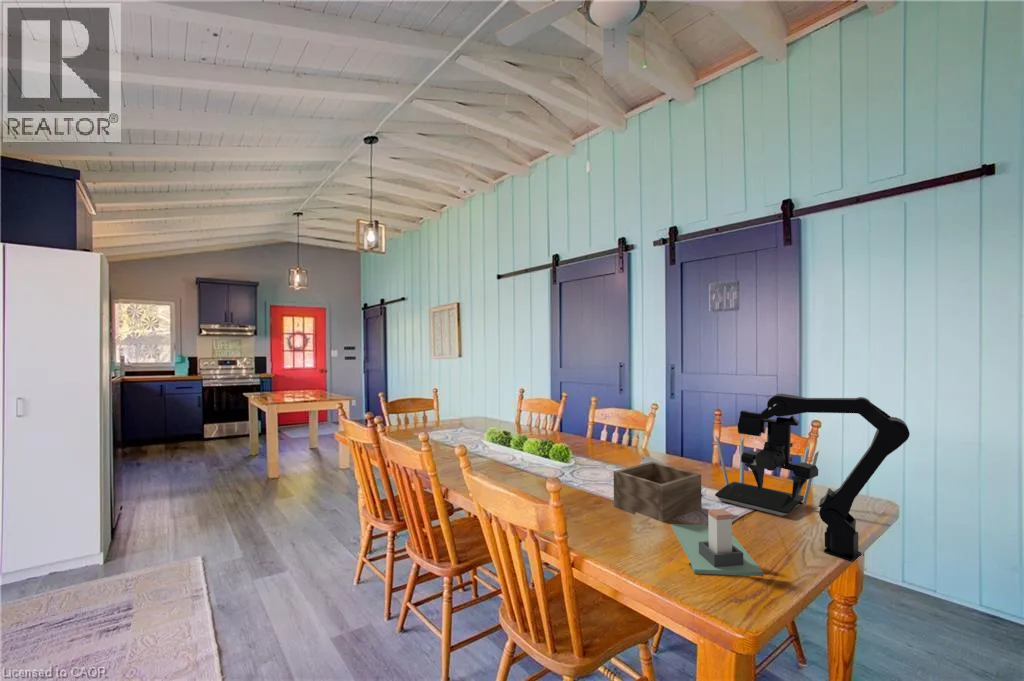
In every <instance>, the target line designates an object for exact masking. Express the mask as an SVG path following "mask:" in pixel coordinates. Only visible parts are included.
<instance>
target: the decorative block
mask: <svg viewBox="0 0 1024 681" xmlns="http://www.w3.org/2000/svg"><path fill="white" fill-rule="evenodd" d="M649 462H655V463H659V464H663V465H667V466H670V465H669V464H667V463H664V462H662V461H660V460H658V459H656V458H653V457H650V456H648V455H647V454H643V456H642V460H641V461H640V463H639V465H641V464H645V463H649Z"/></svg>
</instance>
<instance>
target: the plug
mask: <svg viewBox="0 0 1024 681" xmlns="http://www.w3.org/2000/svg"><path fill="white" fill-rule="evenodd" d="M707 511H708V512H707V513H708V514H707V516H708V523H707V525H708V528H709V548H710V549H711V550H712V551H713V552H715V553H727V552H732V534H733V523H732V522H733V516H732V513H730V512H729V511H727V510H725V509H724V508H715V509H711V508H710V509H707Z"/></svg>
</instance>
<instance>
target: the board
mask: <svg viewBox="0 0 1024 681" xmlns="http://www.w3.org/2000/svg"><path fill="white" fill-rule="evenodd" d="M669 525H670V527H671V529H672V531H673V532H674V534H675V537H676V538H677V540H678V542H679V544H680V546H681V548H682V549H683V551H684V553H685V555H686V557H687V558H688V560H689V562H688V564H689V566H690V568H691V570H692V572H693V573H694V574H697V575H698V574H700V575H727V576H730V575H731V576H750V577H764V571H763V569H762V568H761V567H760V566H759V565H758V564H757V562H756V561H755V560H754V559H753V557H752V556H751V555H750V554H749V552H748V551H747V550H746V549H745V548H744V547H743V545H742V544H741V543H740V542H739V541H738V540H737V537H736V536H734V534H733V533H732V545H733V546H735V547H736V548H737V549H739V550H740V551H741V552H743V565H736V566H724V567H714V566H713V565H711V564H710V563H709V562H708V561H707V560H706V559H705V558H704V557H703V556H701V555H700V554H699V542H703V541H709V528H708V524H689V523H688V524H687V523H686V524H679V523H678V524H677V523H670V524H669Z"/></svg>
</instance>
